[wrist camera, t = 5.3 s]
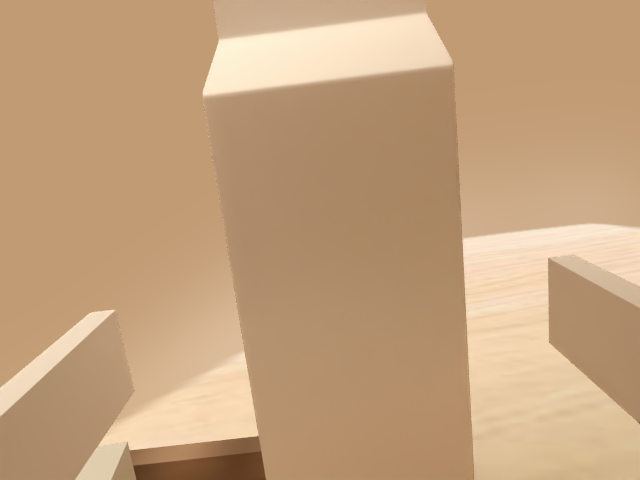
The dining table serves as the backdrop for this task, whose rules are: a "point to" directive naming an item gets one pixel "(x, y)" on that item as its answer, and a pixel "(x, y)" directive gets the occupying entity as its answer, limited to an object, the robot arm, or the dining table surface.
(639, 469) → the dining table surface
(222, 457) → the rack
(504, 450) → the dining table surface
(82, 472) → the offcut top
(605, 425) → the dining table surface
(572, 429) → the dining table surface
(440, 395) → the milk
